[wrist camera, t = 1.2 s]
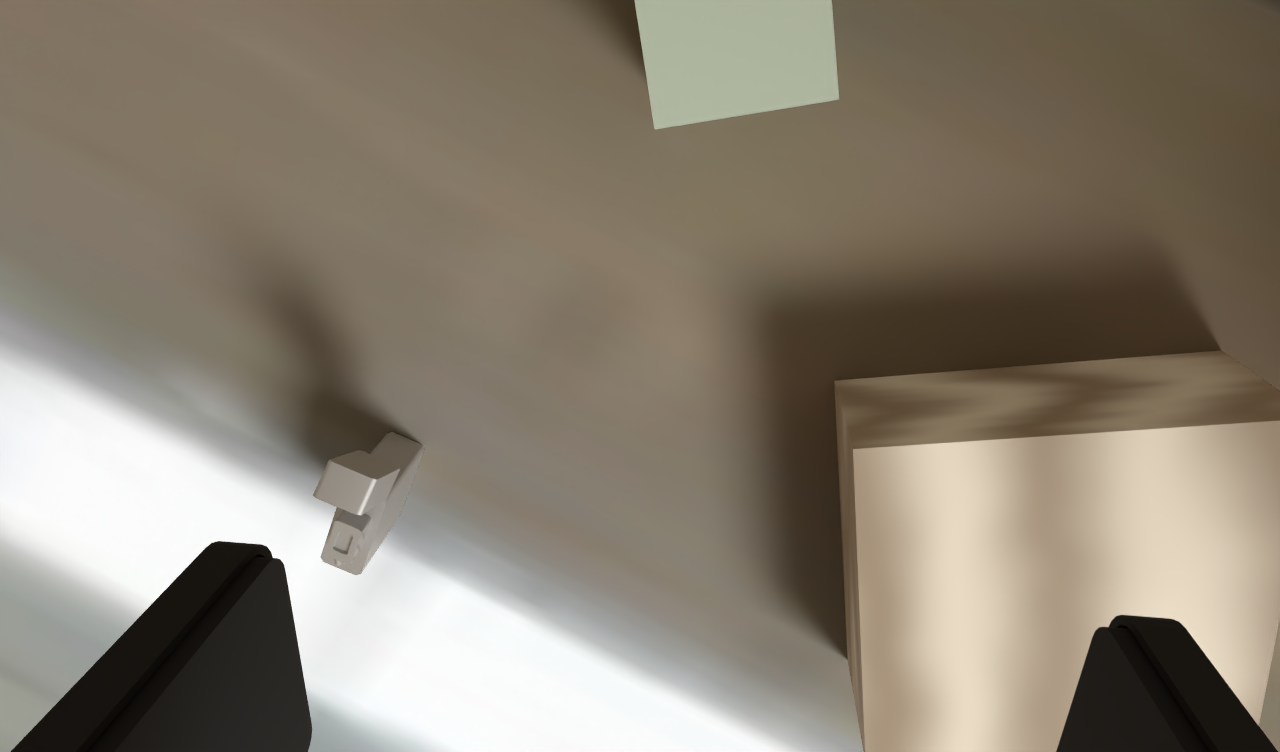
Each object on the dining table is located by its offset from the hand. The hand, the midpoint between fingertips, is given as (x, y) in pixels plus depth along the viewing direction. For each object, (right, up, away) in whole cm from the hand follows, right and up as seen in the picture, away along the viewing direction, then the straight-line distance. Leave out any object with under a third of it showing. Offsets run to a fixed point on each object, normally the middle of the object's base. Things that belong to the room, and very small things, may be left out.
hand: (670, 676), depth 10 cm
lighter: (-11, 0, +27) cm, 29 cm away
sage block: (+3, +16, +18) cm, 24 cm away
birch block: (+15, -2, +25) cm, 29 cm away
